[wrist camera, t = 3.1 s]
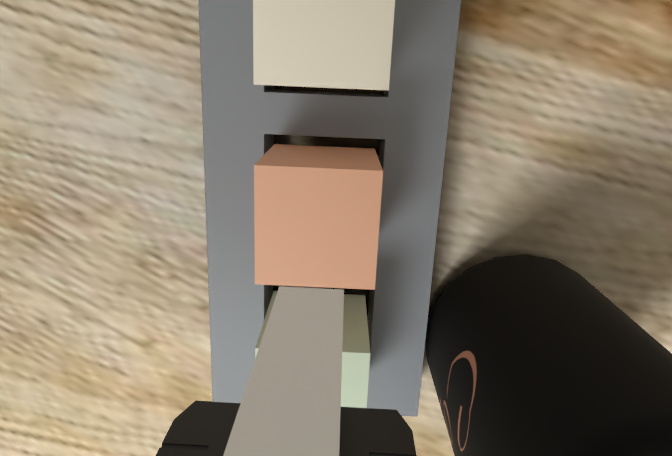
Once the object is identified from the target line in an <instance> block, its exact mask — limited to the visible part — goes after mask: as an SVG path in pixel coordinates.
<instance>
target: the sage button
mask: <svg viewBox="0 0 672 456" xmlns="http://www.w3.org/2000/svg"><path fill="white" fill-rule="evenodd" d="M277 292H278V291H273V294H272V298H271V301H270V304H269V307H268V310H267V313H266V316H265V319H264V322H263V325H262V328H261V332H260V335H259V338H258V341H257V344H256V347H255V358H256V355H257V352H258V349H259V346H260V343H261V340H262V337H263V334H264V331H265V328H266V325H267V322H268V319H269V316H270V313H271V310H272V307H273V304H274V301H275V298H276V295H277ZM369 367H370V343H369V333H368V322H367V311H366V300H365V295H352V294H344V308H343V342H342V376H341V407H356V408H367V395H368V381H369Z"/></svg>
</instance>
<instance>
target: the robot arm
mask: <svg viewBox="0 0 672 456" xmlns="http://www.w3.org/2000/svg"><path fill="white" fill-rule="evenodd" d="M343 308H344V290H342V289H323V288H303V287H284V286H279V289H278V292H277V295H276V298H275V301H274V304H273V307H272V310H271V313H270V316H269V319H268V322H267V325H266V328H265V331H264V334H263V337H262V340H261V343H260V346H259V349H258V352H257V355H256V358H255V361H254V364H253V367H252V370H251V373H250V376H249V379H248V382H247V385H246V388H245V391H244V394H243V397H242V400H241V403H226V402H208V401H195V402H194V403H193V404H191V405H190V406H189V407H188V408H187V409H186V410H185V411H183V412H182V413H181V414H180V415H179V416H178V417H176V418H175V419H174V421H173V423H172V425H171V427H170V429H169V431H168V433H167V435H166V437H165V439H164V441H163V442H162V447H161V448H159V450H158V452H157V454H156V456H416V451H415V445H414V439H413V433H412V430H411V428H410V427H409V426H408V424H407V423H406V422H405V420H404V419H403V418H402V416H401V415H400V414H399V412H398V411H397V410H392V409H374V408H356V407H341V376H342V342H343Z"/></svg>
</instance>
